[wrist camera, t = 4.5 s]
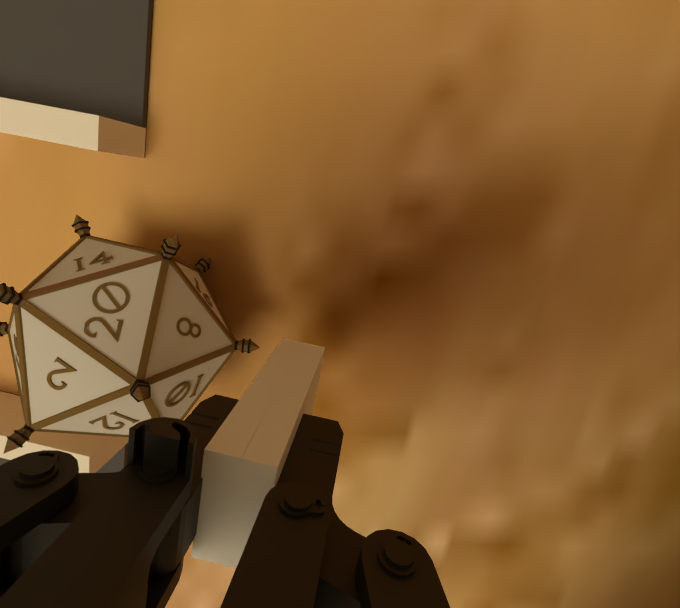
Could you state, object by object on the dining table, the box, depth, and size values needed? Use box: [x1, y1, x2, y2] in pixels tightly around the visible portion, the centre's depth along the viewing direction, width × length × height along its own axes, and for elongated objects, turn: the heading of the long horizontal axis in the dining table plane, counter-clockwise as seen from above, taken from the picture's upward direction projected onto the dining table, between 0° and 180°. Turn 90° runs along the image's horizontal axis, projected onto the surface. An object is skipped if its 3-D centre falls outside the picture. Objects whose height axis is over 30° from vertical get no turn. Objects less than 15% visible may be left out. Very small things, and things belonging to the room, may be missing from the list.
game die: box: [0, 215, 260, 454], centre depth 16 cm, size 9×8×10 cm
